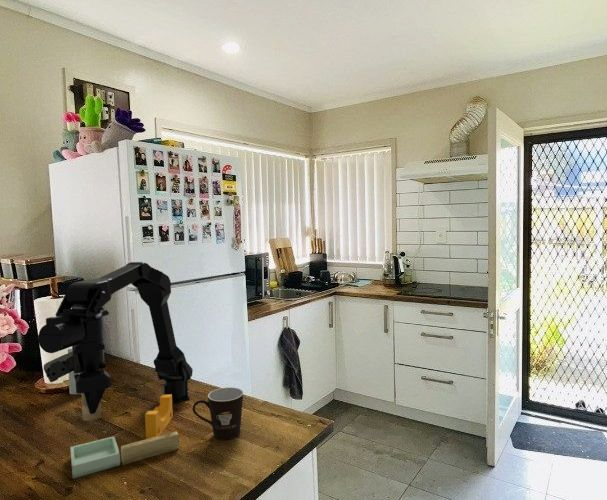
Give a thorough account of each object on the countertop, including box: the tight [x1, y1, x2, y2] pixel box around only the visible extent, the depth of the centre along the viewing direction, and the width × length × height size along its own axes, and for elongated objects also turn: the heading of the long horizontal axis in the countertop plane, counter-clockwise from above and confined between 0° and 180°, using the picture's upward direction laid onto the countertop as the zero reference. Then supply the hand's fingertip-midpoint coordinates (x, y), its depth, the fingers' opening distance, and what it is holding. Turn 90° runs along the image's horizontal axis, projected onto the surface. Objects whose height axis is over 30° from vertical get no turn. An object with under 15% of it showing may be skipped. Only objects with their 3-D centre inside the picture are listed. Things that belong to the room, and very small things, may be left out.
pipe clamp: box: [144, 394, 174, 440], centre depth 107 cm, size 12×4×6 cm, turn 179°
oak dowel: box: [80, 393, 102, 422], centre depth 91 cm, size 4×4×7 cm
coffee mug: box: [192, 386, 244, 441], centre depth 103 cm, size 12×9×10 cm
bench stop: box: [120, 431, 180, 466], centre depth 94 cm, size 12×2×4 cm, turn 121°
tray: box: [69, 435, 121, 479], centre depth 92 cm, size 9×9×3 cm
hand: (92, 410), depth 91 cm, fingers closed on oak dowel, 4 cm apart
